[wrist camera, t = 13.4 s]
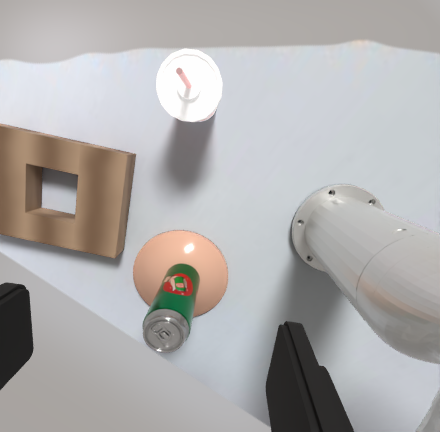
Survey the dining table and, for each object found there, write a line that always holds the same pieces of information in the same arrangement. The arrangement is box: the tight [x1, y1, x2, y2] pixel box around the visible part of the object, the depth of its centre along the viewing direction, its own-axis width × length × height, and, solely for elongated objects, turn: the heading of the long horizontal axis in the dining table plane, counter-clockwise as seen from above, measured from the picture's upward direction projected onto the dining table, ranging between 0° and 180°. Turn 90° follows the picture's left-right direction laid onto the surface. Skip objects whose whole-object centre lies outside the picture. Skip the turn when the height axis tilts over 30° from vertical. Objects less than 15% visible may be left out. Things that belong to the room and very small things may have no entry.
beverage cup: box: [156, 49, 223, 122], centre depth 25 cm, size 6×6×14 cm
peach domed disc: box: [133, 230, 228, 317], centre depth 38 cm, size 14×14×1 cm
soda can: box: [143, 263, 200, 353], centre depth 32 cm, size 5×5×12 cm
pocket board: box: [0, 124, 136, 258], centre depth 34 cm, size 18×14×3 cm
